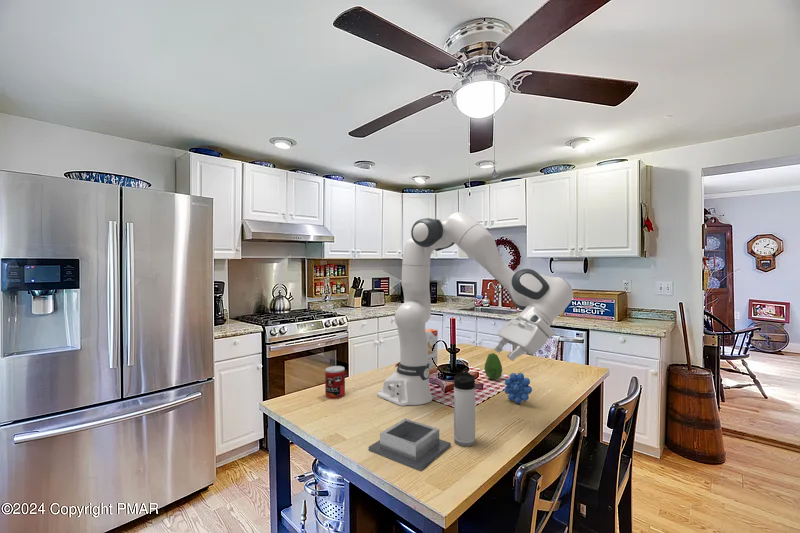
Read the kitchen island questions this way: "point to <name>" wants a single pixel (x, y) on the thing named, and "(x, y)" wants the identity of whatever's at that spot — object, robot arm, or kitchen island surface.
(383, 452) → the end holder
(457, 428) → the travel mug
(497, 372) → the avocado
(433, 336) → the cracker box
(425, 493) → the kitchen island surface
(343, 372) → the canned food
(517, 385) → the grapes
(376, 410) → the kitchen island surface
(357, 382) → the kitchen island surface
